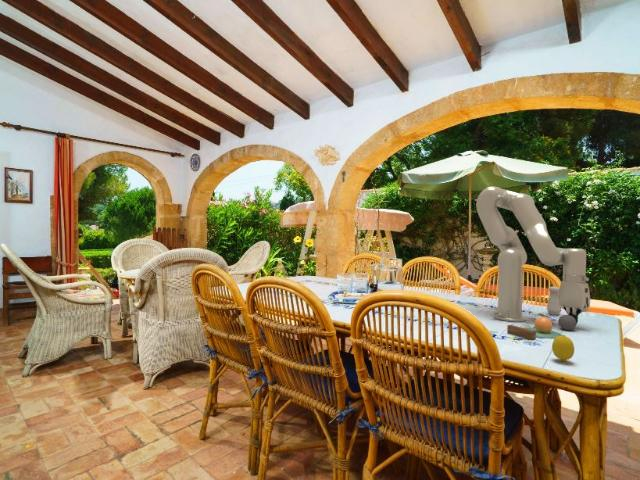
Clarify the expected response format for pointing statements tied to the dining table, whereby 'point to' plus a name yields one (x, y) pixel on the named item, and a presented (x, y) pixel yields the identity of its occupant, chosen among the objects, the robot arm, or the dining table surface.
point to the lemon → (563, 348)
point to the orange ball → (543, 324)
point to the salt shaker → (553, 301)
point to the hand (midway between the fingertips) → (572, 324)
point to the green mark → (545, 335)
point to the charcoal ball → (567, 322)
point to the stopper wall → (521, 332)
